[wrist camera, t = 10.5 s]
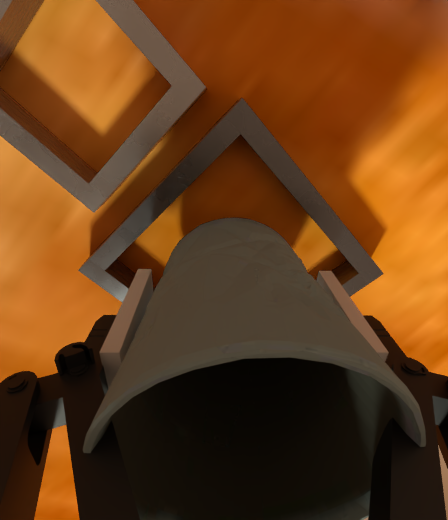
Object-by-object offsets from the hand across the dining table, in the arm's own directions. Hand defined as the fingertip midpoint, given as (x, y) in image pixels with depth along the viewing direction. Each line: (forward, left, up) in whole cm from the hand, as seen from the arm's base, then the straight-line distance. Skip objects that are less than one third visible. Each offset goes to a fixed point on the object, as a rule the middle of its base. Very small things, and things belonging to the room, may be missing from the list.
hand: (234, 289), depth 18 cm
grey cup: (0, 0, -2) cm, 2 cm away
